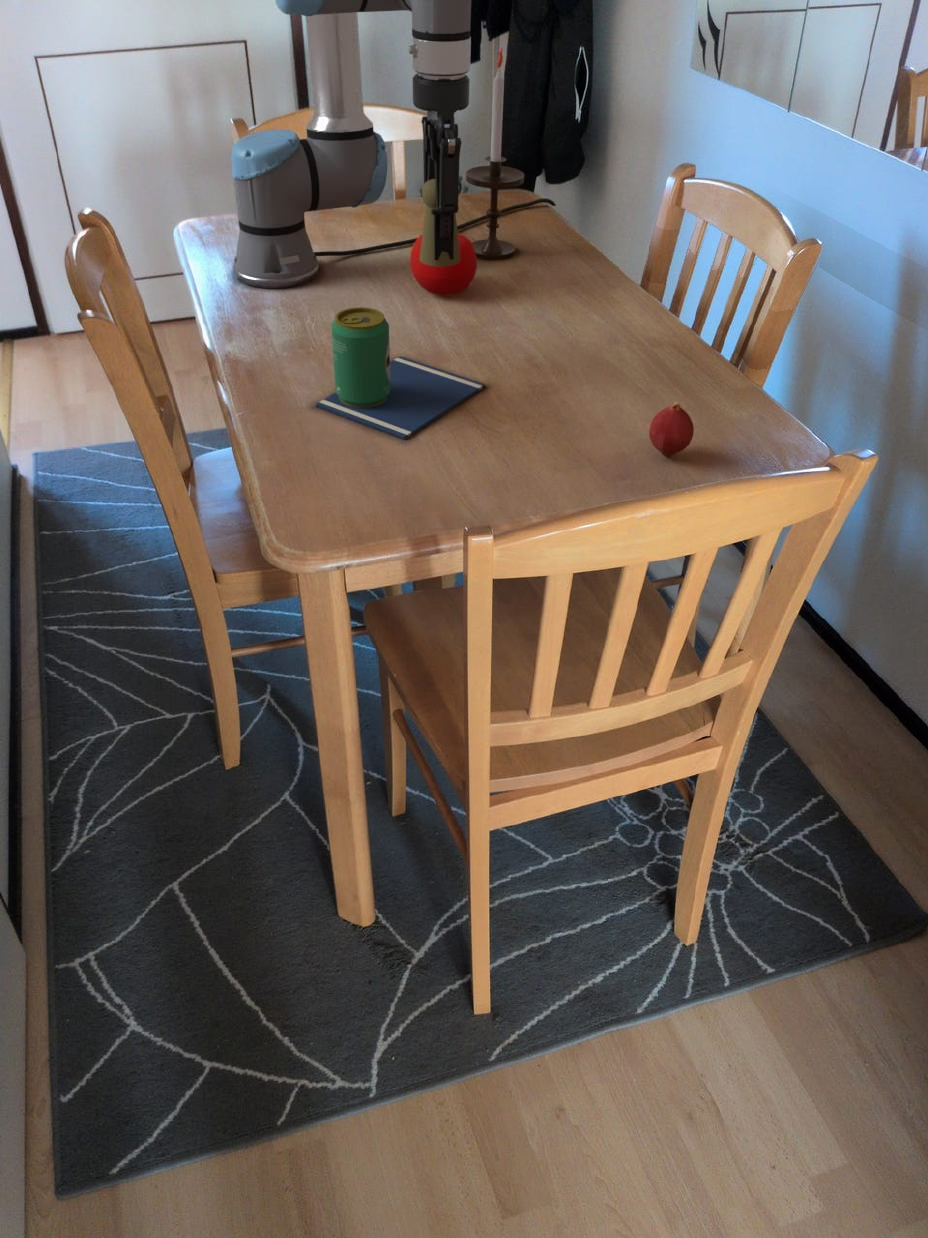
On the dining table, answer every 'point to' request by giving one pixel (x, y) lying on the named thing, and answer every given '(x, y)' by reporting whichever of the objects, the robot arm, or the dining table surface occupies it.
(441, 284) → the tomato
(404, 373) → the towel
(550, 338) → the dining table surface
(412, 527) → the dining table surface
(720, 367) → the dining table surface
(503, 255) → the candlestick
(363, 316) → the beverage can
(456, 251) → the olive game pawn
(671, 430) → the onion
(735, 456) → the dining table surface
